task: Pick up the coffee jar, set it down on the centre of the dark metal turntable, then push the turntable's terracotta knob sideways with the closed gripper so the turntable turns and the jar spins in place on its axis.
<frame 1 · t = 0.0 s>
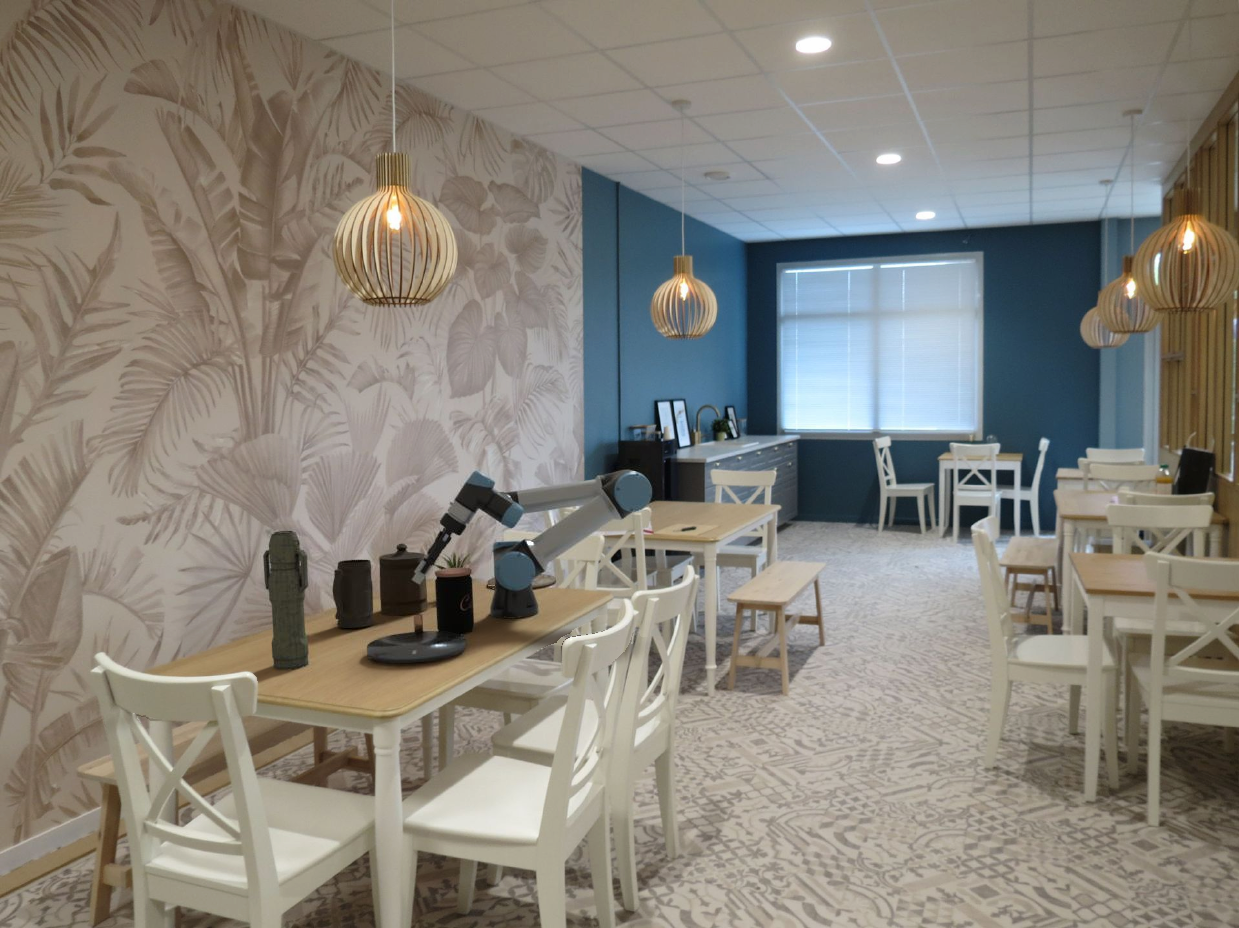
hand: (416, 578, 292), 15 cm above the table, tool tilted 35°, fingers open, 13 cm apart
coffee jar: (456, 632, 288), on the table
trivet: (521, 585, 361), on the table
wooden container: (404, 611, 320), on the table
house plant: (457, 597, 339), on the table
turntable: (416, 637, 264), point 5 cm above the table, hinge at 0.0°
thermos: (291, 666, 256), on the table
beer stein: (353, 628, 298), on the table
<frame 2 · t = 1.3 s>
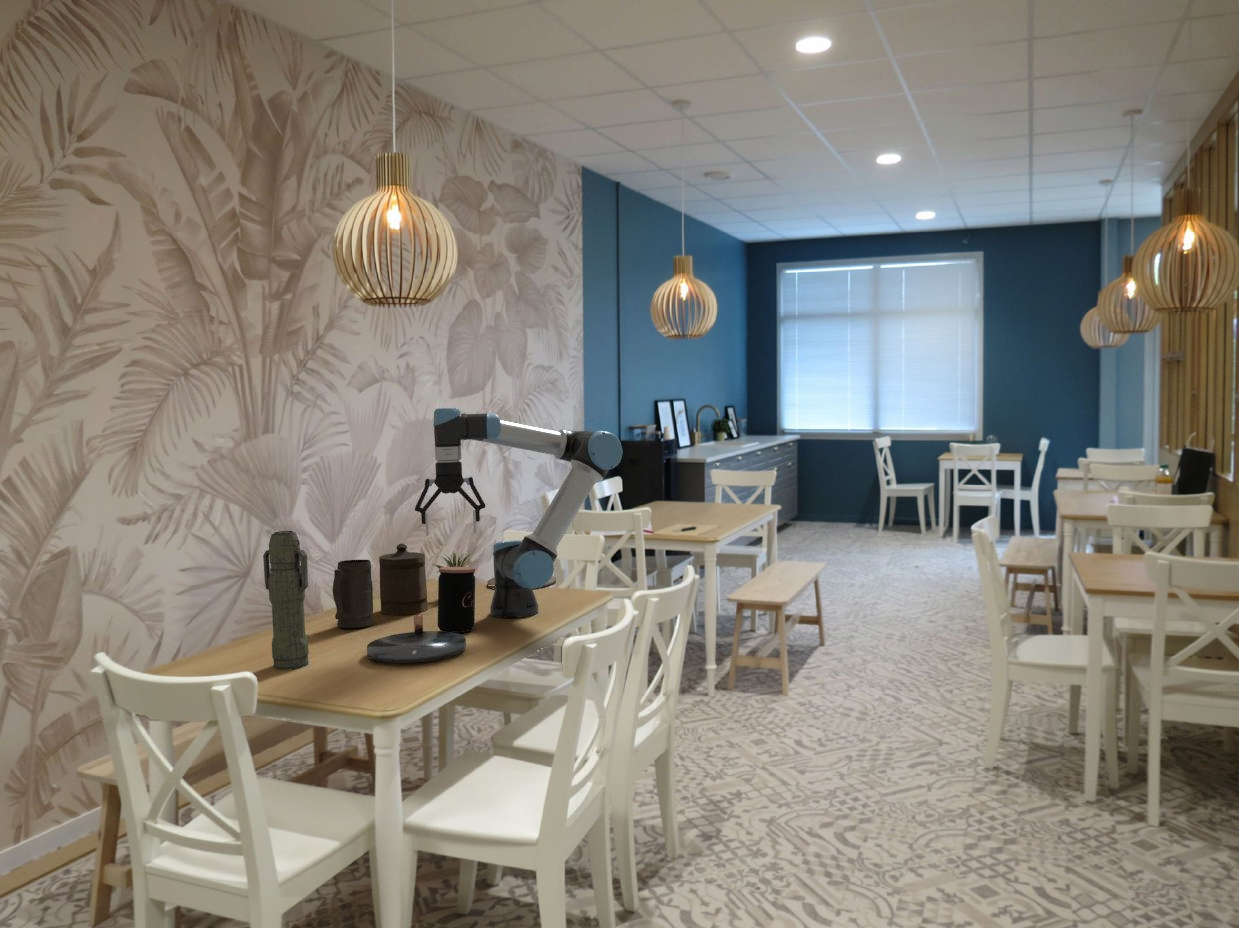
hand: (451, 534, 286), 29 cm above the table, tool pointing down, fingers open, 13 cm apart
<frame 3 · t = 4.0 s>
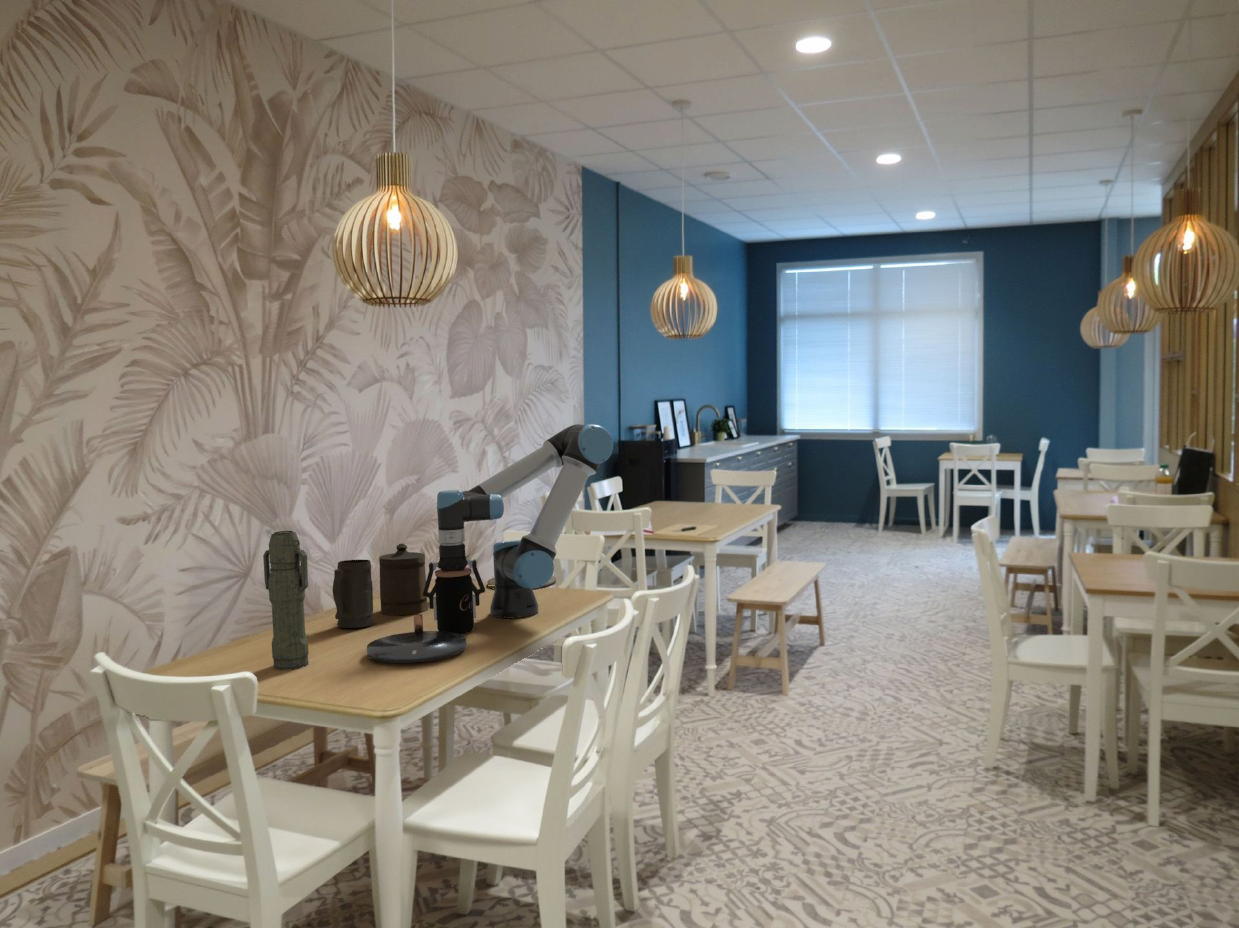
hand: (455, 618, 288), 4 cm above the table, tool pointing down, fingers closed on coffee jar, 11 cm apart
coffee jar: (456, 631, 288), on the table, touching gripper
everything else where it was.
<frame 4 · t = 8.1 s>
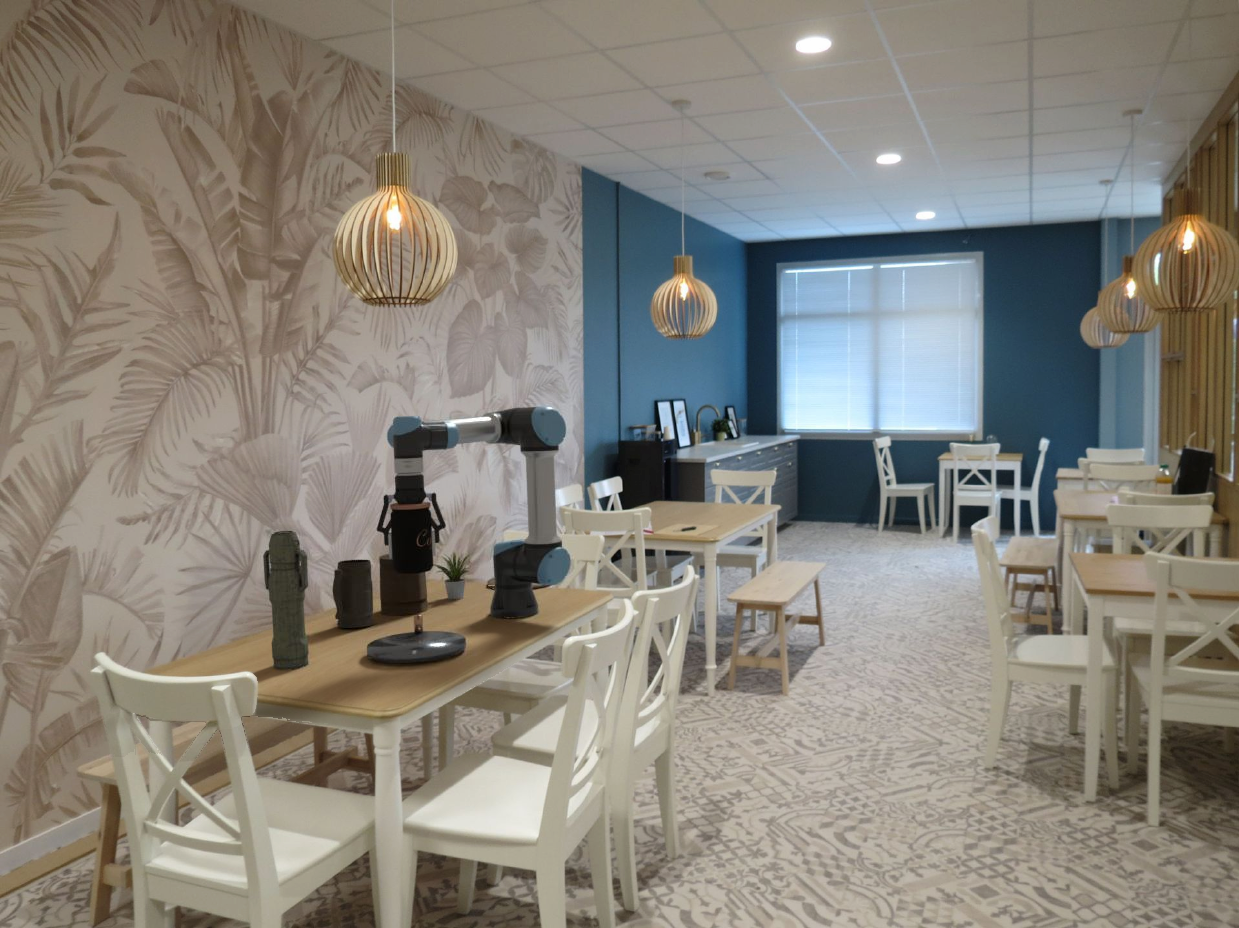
hand: (412, 556, 263), 26 cm above the table, tool pointing down, fingers closed on coffee jar, 11 cm apart
coffee jar: (413, 571, 263), point 22 cm above the table, touching gripper
everything else where it was.
when the fingers open (8 cm above the table, at t = 12.1 s): coffee jar drops 1 cm, resting on turntable.
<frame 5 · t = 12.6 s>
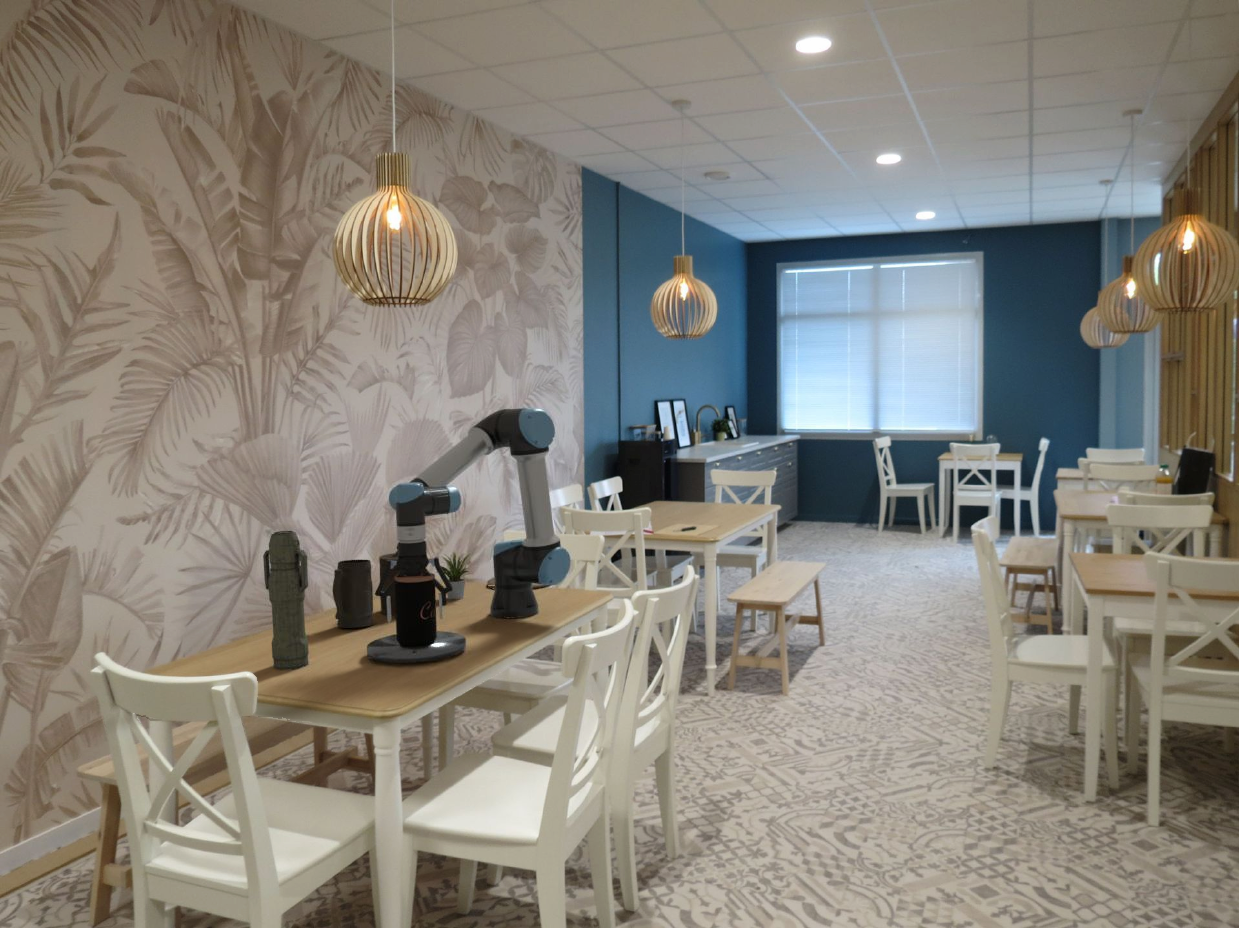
hand: (415, 619, 263), 9 cm above the table, tool pointing down, fingers open, 13 cm apart
coffee jar: (416, 642, 264), point 3 cm above the table, touching turntable
turntable: (416, 637, 264), point 5 cm above the table, hinge at 0.0°, touching coffee jar
everything else where it was.
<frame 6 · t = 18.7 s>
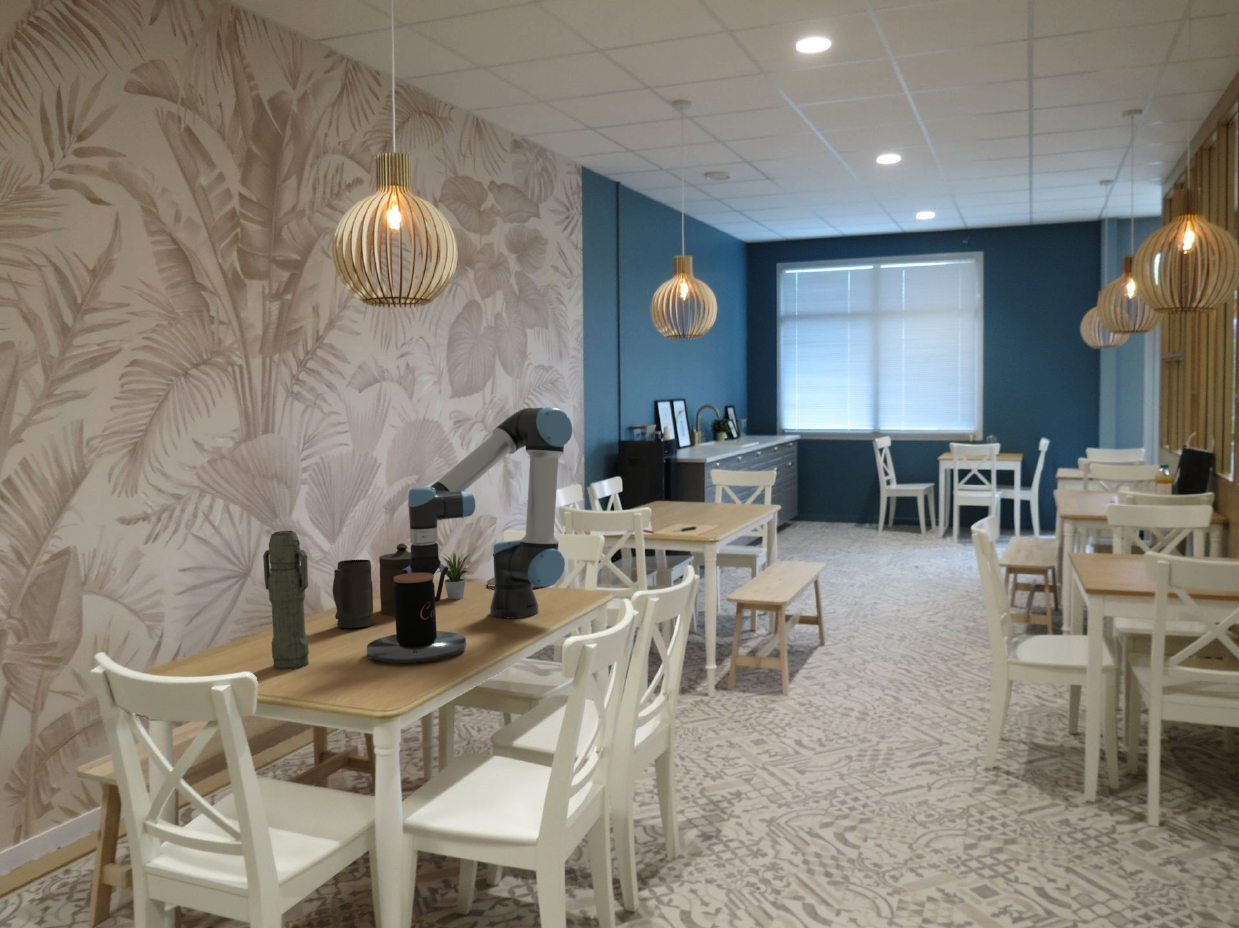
hand: (428, 626, 275), 5 cm above the table, tool pointing down, fingers closed
turntable: (416, 637, 264), point 5 cm above the table, hinge at 1.2°, touching coffee jar, gripper
everything else where it was.
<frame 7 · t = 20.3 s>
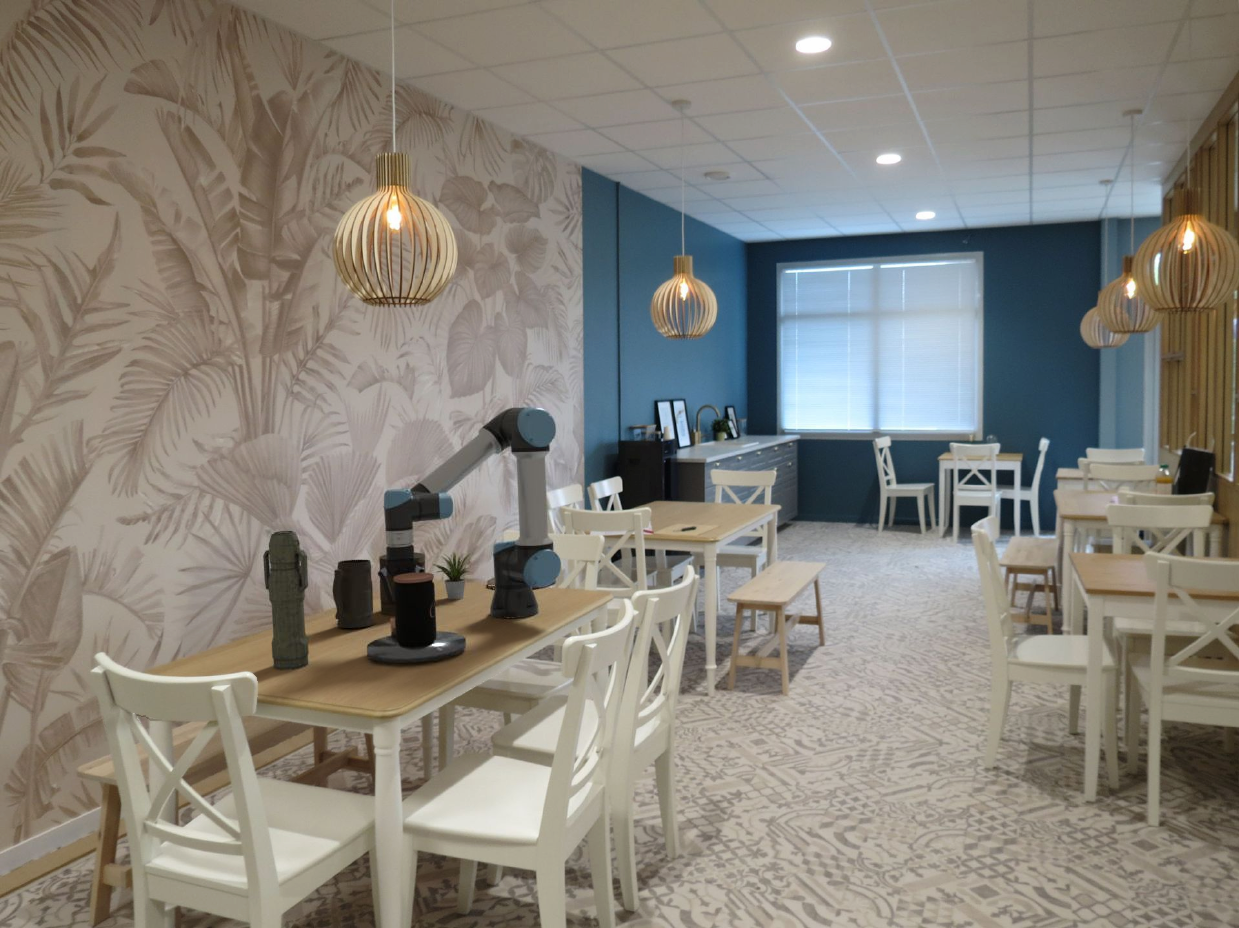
hand: (404, 628, 274), 4 cm above the table, tool pointing down, fingers closed
turntable: (416, 637, 264), point 5 cm above the table, hinge at 32.8°, touching coffee jar, gripper
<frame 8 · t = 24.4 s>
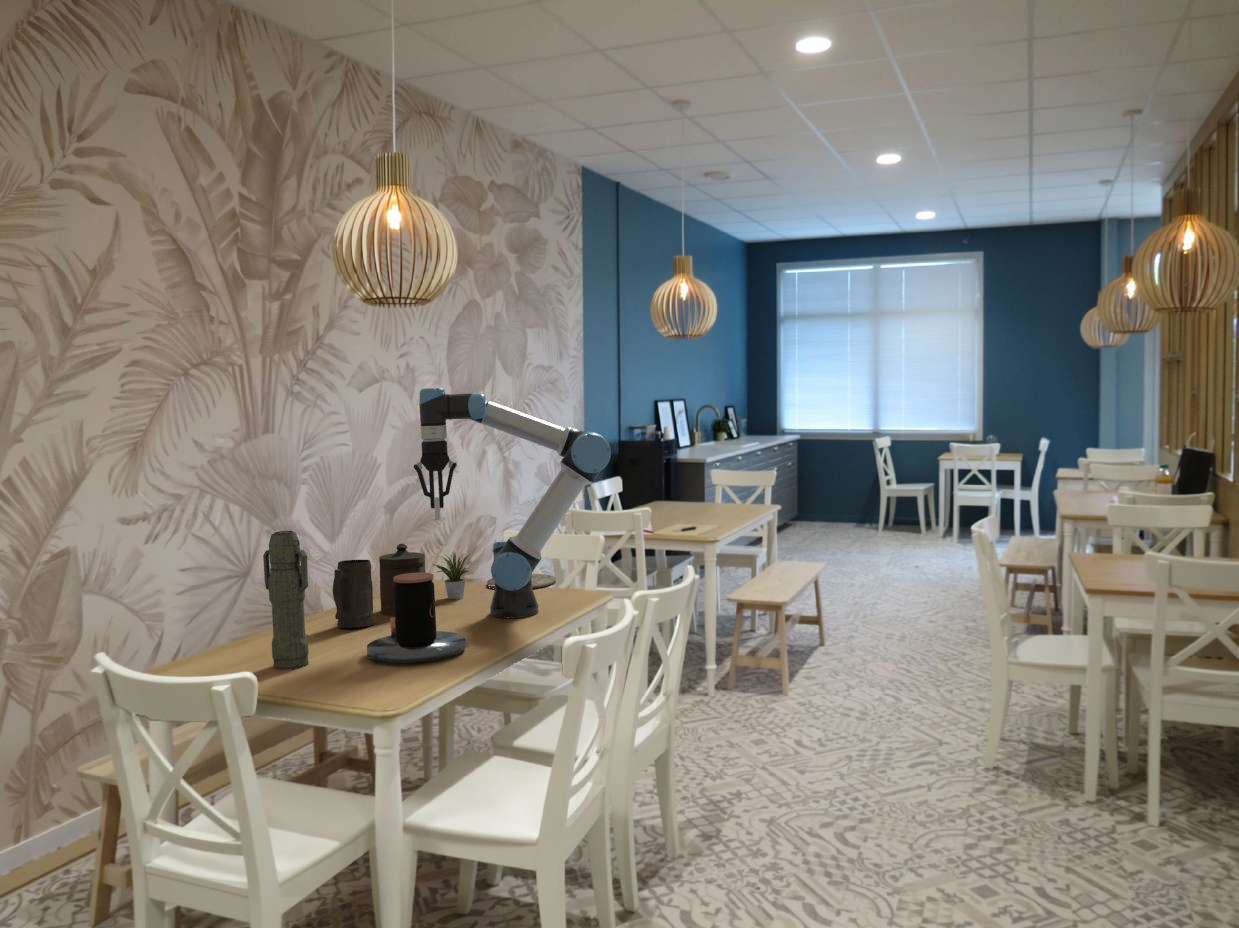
hand: (437, 519, 293), 32 cm above the table, tool pointing down, fingers closed
turntable: (416, 637, 264), point 5 cm above the table, hinge at 32.8°, touching coffee jar
at the end: coffee jar 0.1 cm from the turntable (horizontally); coffee jar tilted 0°; turntable at +33° (first picture: +0°) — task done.
